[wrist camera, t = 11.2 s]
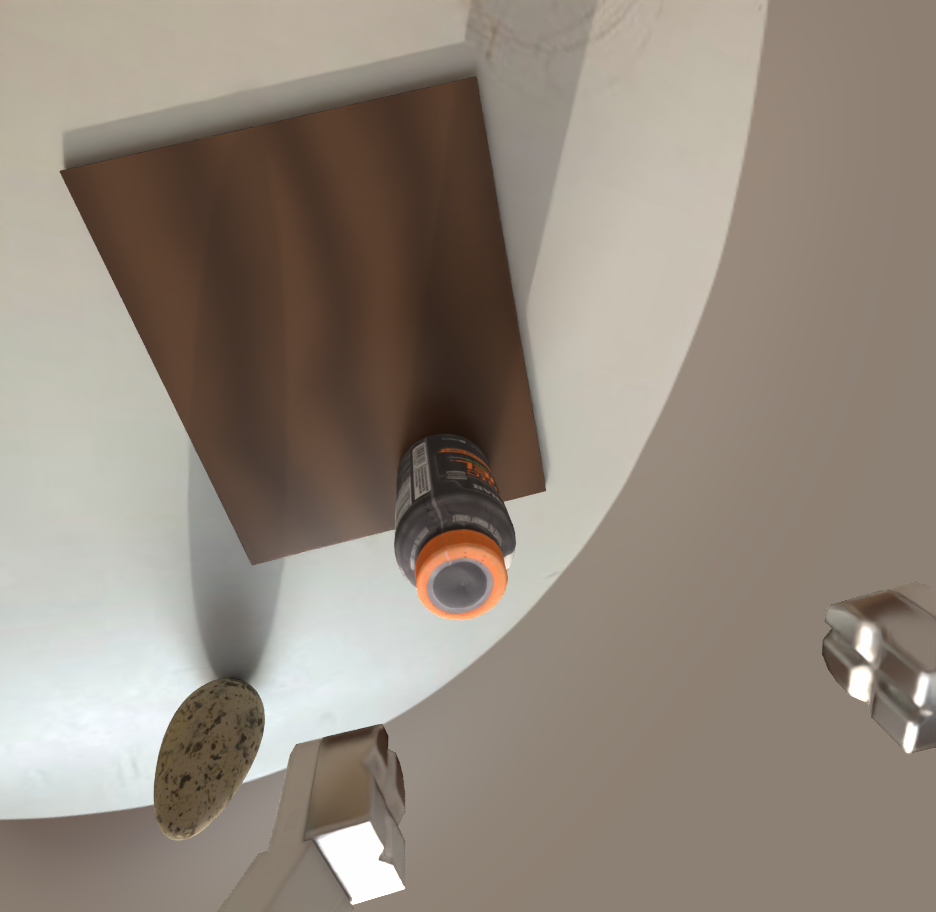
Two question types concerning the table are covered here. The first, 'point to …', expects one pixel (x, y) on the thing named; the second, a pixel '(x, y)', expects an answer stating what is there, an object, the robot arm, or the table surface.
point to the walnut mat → (323, 306)
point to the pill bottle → (452, 527)
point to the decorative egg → (206, 755)
